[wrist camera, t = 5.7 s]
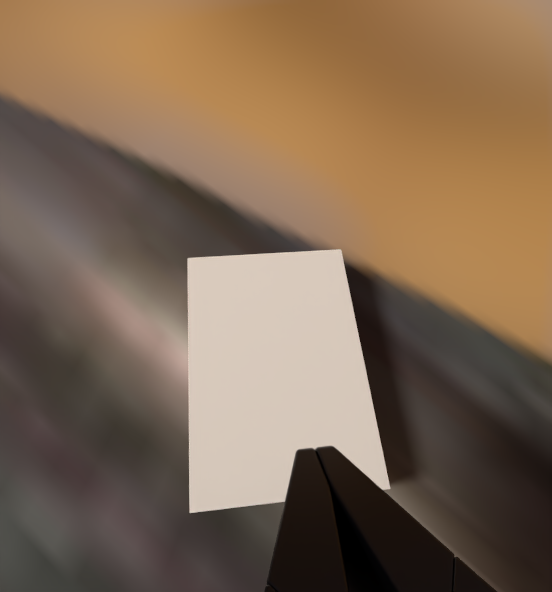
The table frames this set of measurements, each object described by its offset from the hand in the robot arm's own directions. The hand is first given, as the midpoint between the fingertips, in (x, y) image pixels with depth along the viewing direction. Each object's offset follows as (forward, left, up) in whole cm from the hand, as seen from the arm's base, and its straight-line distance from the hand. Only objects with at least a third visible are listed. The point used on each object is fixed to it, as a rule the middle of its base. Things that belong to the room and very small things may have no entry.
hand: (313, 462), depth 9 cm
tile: (-1, 0, -7) cm, 7 cm away
